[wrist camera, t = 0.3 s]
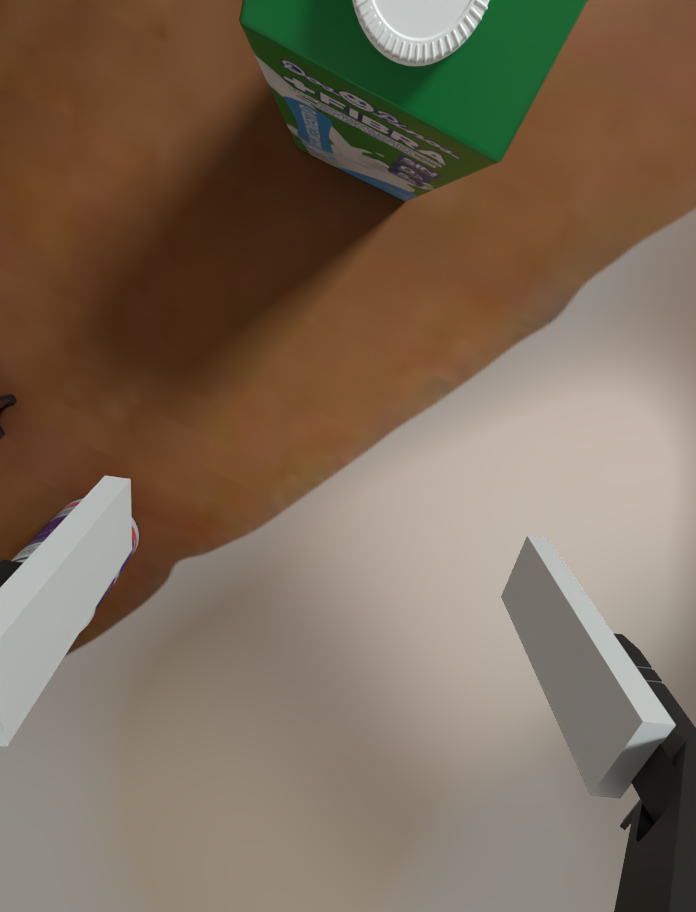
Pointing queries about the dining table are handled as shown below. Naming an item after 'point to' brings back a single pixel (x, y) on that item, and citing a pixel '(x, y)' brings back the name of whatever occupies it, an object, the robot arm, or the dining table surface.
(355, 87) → the milk carton
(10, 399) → the mate gourd
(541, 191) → the dining table surface
